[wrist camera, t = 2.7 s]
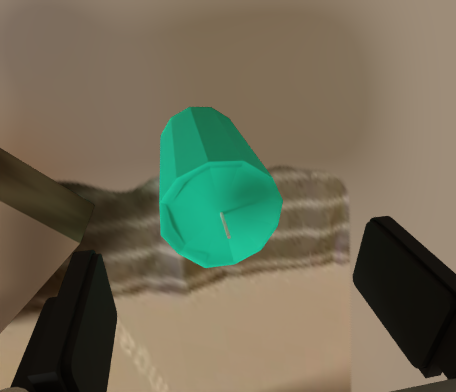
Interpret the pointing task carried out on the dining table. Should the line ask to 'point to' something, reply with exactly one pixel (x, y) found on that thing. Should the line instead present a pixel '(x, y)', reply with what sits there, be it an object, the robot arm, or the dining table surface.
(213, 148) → the candle
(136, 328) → the dining table surface
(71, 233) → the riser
